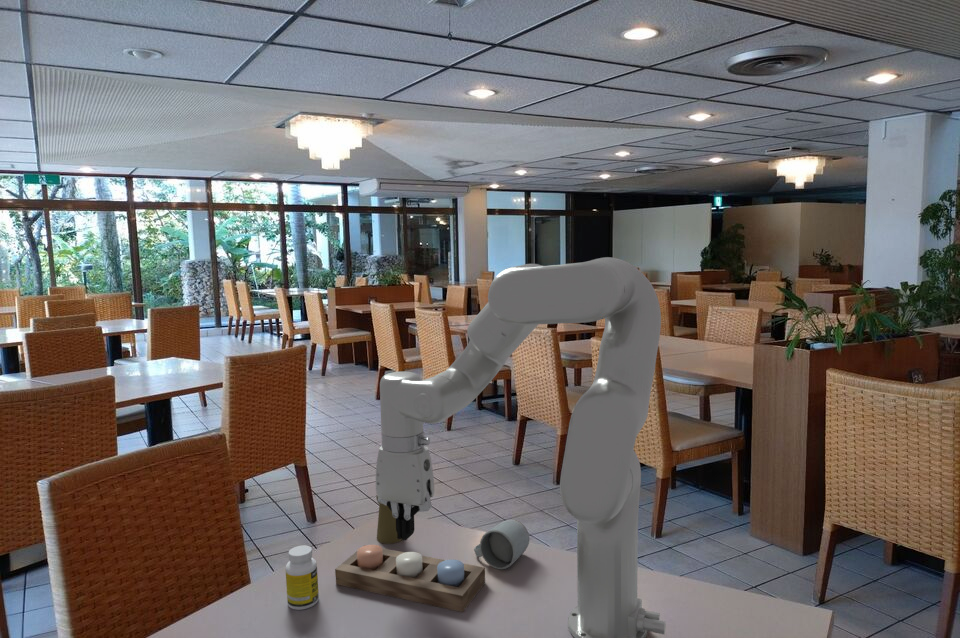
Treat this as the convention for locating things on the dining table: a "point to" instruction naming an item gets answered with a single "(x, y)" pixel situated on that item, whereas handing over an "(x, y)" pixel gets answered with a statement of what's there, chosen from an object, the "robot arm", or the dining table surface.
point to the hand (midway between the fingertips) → (405, 536)
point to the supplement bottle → (301, 578)
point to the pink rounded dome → (370, 556)
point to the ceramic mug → (503, 544)
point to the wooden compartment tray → (412, 581)
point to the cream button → (409, 564)
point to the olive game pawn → (386, 525)
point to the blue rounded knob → (450, 572)
